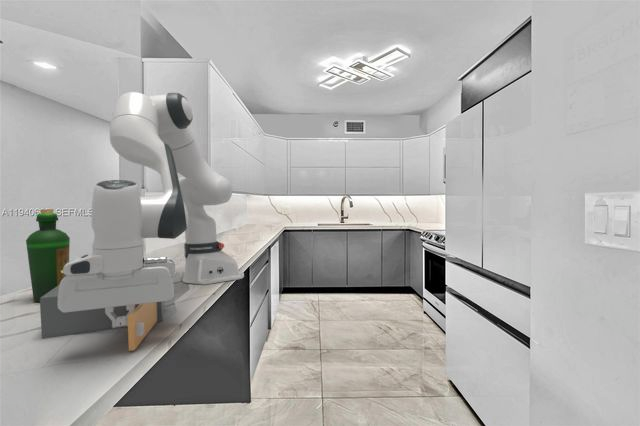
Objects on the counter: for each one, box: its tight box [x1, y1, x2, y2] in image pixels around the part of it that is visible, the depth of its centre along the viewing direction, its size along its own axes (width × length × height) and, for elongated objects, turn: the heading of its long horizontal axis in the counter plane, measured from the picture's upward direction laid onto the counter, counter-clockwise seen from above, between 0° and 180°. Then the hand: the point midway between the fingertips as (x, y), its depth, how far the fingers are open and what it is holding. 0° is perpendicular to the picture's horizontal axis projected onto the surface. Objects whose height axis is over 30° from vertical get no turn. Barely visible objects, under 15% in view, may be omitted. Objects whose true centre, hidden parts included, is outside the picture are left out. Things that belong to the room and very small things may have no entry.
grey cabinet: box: [39, 285, 165, 339], centre depth 83 cm, size 24×12×10 cm, turn 113°
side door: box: [127, 302, 158, 352], centre depth 73 cm, size 17×2×7 cm, turn 12°
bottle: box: [25, 208, 71, 303], centre depth 103 cm, size 11×11×28 cm
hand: (121, 326), depth 68 cm, fingers closed
